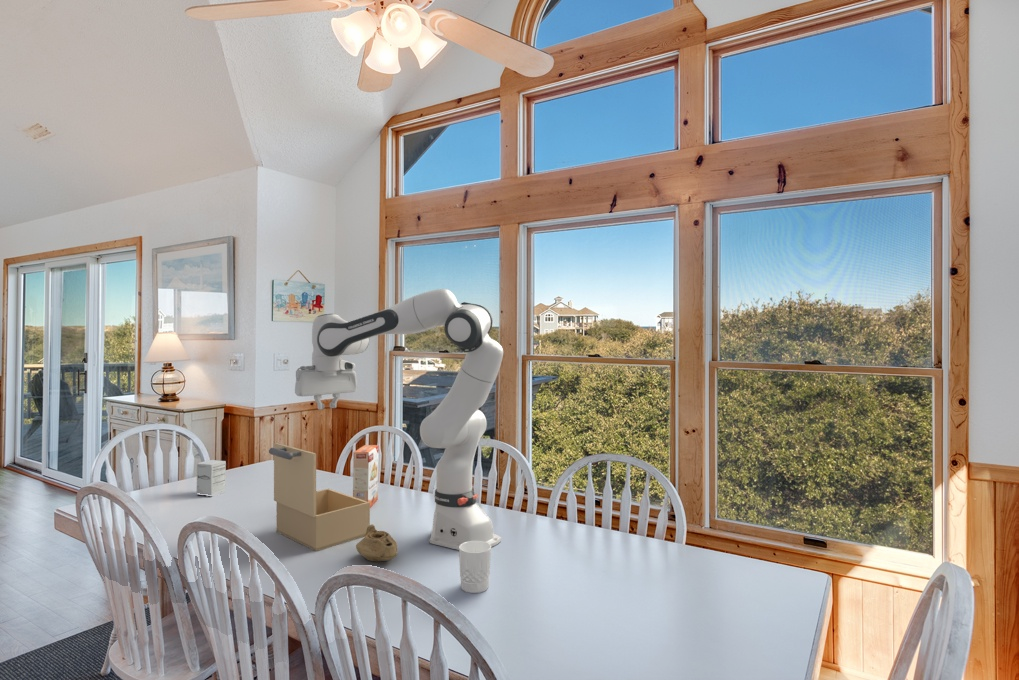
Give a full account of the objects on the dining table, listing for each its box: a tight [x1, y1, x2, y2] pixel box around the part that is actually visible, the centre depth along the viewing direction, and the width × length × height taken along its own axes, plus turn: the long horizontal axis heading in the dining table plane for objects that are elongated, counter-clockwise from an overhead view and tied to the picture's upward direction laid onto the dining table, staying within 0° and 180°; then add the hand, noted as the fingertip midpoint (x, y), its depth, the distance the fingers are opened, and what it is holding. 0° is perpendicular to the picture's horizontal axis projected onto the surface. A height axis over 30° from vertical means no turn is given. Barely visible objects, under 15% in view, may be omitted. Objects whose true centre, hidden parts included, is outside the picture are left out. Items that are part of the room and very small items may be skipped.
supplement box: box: [196, 459, 227, 495], centre depth 216 cm, size 7×7×13 cm
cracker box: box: [352, 444, 380, 508], centre depth 202 cm, size 14×6×21 cm, turn 179°
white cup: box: [458, 541, 492, 594], centre depth 136 cm, size 8×8×10 cm
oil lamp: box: [355, 524, 398, 562], centre depth 153 cm, size 11×15×8 cm
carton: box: [275, 488, 371, 552], centre depth 173 cm, size 24×18×10 cm
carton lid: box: [268, 442, 317, 517], centre depth 164 cm, size 24×18×5 cm
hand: (327, 408), depth 176 cm, fingers open, 3 cm apart
